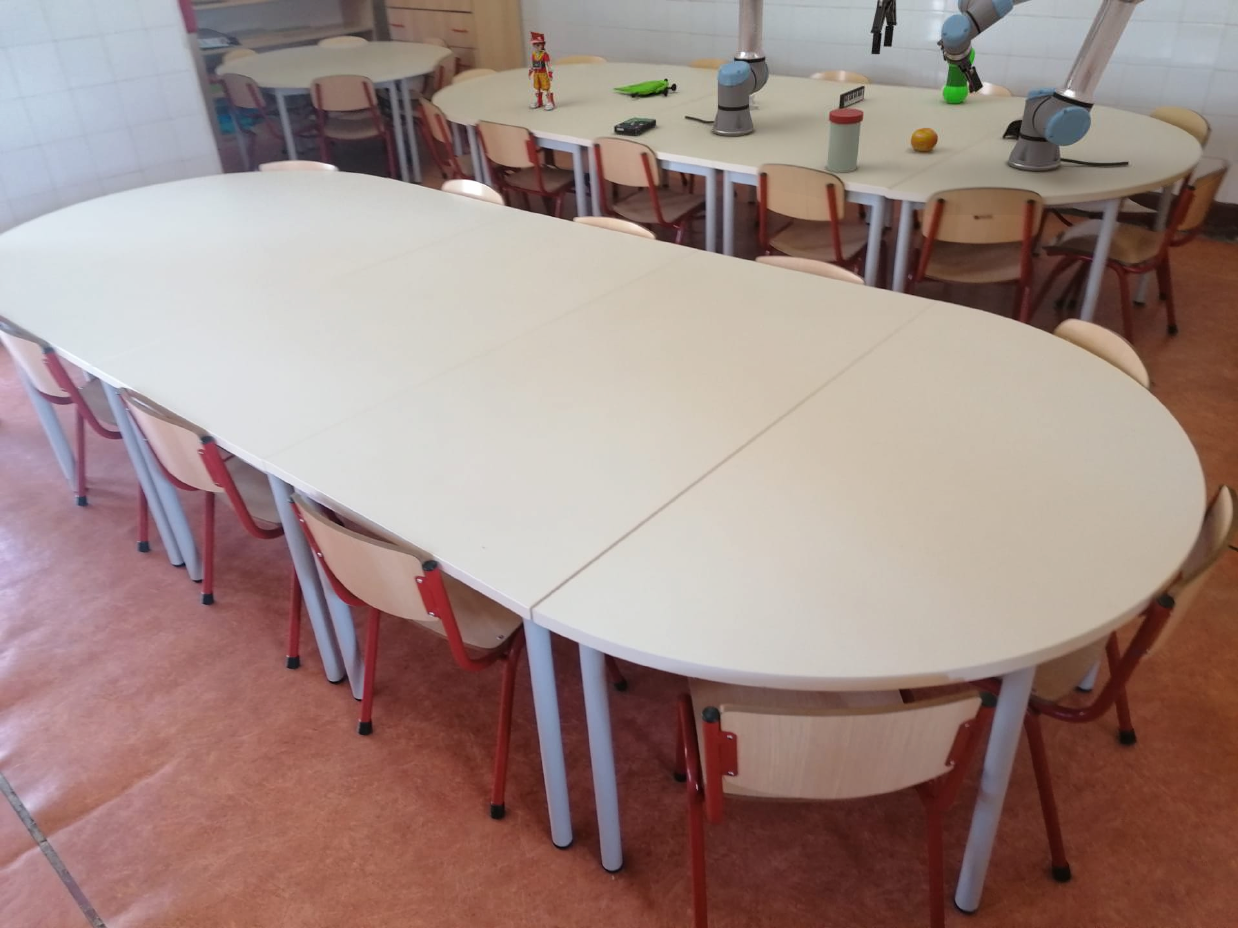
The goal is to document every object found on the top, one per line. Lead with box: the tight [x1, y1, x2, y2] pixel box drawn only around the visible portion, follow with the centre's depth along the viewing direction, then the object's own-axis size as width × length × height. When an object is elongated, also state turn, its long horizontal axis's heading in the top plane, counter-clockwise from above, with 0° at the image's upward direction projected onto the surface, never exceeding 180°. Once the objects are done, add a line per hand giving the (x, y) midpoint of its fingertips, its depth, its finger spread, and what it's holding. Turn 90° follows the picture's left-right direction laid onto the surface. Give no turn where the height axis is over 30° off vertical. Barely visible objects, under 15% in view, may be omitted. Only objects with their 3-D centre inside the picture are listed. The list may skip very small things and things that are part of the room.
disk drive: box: [613, 116, 657, 136], centre depth 344 cm, size 10×3×15 cm
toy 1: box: [527, 31, 556, 111], centre depth 374 cm, size 12×9×30 cm
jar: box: [826, 121, 862, 173], centre depth 289 cm, size 9×9×17 cm
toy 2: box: [612, 78, 677, 99], centre depth 396 cm, size 28×5×30 cm
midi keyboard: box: [838, 85, 866, 109], centre depth 359 cm, size 18×1×5 cm, turn 138°
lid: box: [828, 108, 864, 124], centre depth 284 cm, size 10×10×2 cm
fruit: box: [910, 127, 939, 152], centre depth 303 cm, size 8×8×8 cm
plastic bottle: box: [942, 47, 976, 104], centre depth 348 cm, size 10×10×25 cm
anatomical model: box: [749, 94, 760, 109], centre depth 364 cm, size 15×10×10 cm
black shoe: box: [1002, 115, 1023, 140], centre depth 316 cm, size 30×9×10 cm
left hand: (881, 50), depth 308 cm, fingers open, 13 cm apart
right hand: (961, 73), depth 281 cm, fingers open, 13 cm apart
